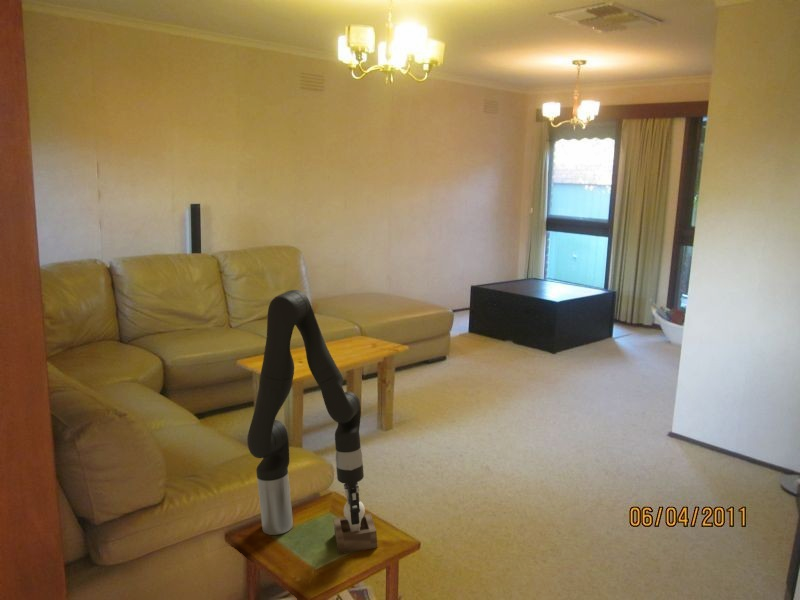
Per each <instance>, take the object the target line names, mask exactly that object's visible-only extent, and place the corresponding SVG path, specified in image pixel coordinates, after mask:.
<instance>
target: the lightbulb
mask: <svg viewBox="0 0 800 600" xmlns="http://www.w3.org/2000/svg"><path fill="white" fill-rule="evenodd" d="M356 507H357V506H352V508H356ZM359 508H360V512H359V524H355V525H352V523H351V513H350V506H349V504H348V503H347V502H346V503H345V504H344V506H343V515H344V516H343V517H346V519H347V520H348V522H349V525H350V529H351V532H354V531H360V527H361V520H362V518H363V516H364V514H366V513H365V512H366V508H365V504H363V502H362V501H361V500H360V502H359Z"/></svg>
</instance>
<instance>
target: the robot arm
mask: <svg viewBox="0 0 800 600" xmlns="http://www.w3.org/2000/svg"><path fill="white" fill-rule="evenodd" d="M314 312H315V311H314V310H313V306H312V305H311V302H310V300H309V298H308V297H307V295H306V294H305V293H304V292H302V291H301V290H298V289H293V290H292V289H291V290H288V291H286V292H284V293H280V294H278V295H276V296H275V297H274V298H272V299H271V301H270V303H269V305H268V308H267V321H266V322H267V323H266V324H267V325H266V338H265V339H266V340H265V346H264V352H263V360H262V365H261V370H260V377H259V385H258V391H257V397H256V401H255V406H254V411H253V415H252V419H251V422H250V425H249V430H248V433H247V439H246V441H247V447H248V451H249V453H250V454H251V455H252V456H253V457H254V458H257V459H261V461H260V462H259V463H258V465H257V466H256V472H255V473H256V480H257V481H256V482H257V489H258V490H257V491H258V498H259V499H258V500H259V509H260V519H261V527H262V531H263V533H264V534H266V535H270V536H277V535H282V534H285V533H288V532H289V531H290V530H291V529H292V528H293V527H294V521H293V510H292V500H291V499H292V498H291V490H290V480H289V477H290V476H289V469H288V468H289V465H290V442H289V435H288V430H287V428H286V426H285V425H284V424H283V423H282V421H280V420H277V419H276V417H277V416H278V414H279V411H280V410H281V408H282V407H283V405H284V403H285V402H286V400H287V398H288V397H289V394H290V393H291V389H292V386H293V381H294V377H295V363H294V359H293V355H292V352H291V342H292V341H291V339H292V336H293V331H294V328H295V327H296V328H297V329H298V332H299V333H300V336H301V337H302V342H303V346H304V348H305V349H304V350H305V356H306V361H307V366H308V368H309V371H310V373H311V375H312V376H313V379H314V380H315V382H316V384H317V386H318V388H319V389H320V391H321V395H322V399H323V402H324V403H323V404H324V406H325V408H326V411H327V413H328V415H329V417H330V418H331V419H332V420H333V421H334V422H336V423H337V427H336V429H335V432H334V443H335V467H336V468H335V469H336V478H337V482H339V483H341V484H343V489H344V495H345V498H346V503H348V504H349V506H350V513H351V523H352V525H355V524H359V512H360V508H359V502H360V501H361V500H360V494H359V493H360V488H359V487H360V486H359V484H358V482H360V481H363V479H364V477H365V475H364V461H363V453H362V448H361V437H360V427H361V417H362V416H361V415H362V408H361V407H362V406H361V405H362V404H361V401H360V399H359V397H358V395H357V394H356V393H354V392H352V391H345V390H344V387H343V383H344V378H343V375H342V372H341V371H340V370H339V369H340V368H338V366H337V364H336V362H335V361H334V358H333V357H332V355H331V353H330V350H329V348H328V346H327V344H326V341H325V339H324V336H323V334H322V332H321V329H320V326H319V324H318V321H317V318H316V316H315V313H314ZM352 506H357V507H356V508H352Z"/></svg>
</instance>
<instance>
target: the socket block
mask: <svg viewBox="0 0 800 600" xmlns="http://www.w3.org/2000/svg"><path fill="white" fill-rule="evenodd" d="M333 527H334V537H335V542H336V547H337V552H338V555H341V554H347V553H354V552H359V551H360V552H361V551H366V550H372V549H377V548H378V538H377V536H378V535H377V529H376V527H375V522H374V520H373V517H372V514H371V512H369V513H364V516H363V518H362V520H361V527H360V531H354V532H351V529H350V525H349V522H348V520H347V519H346V517H345V516H342V517H337V518H336V517H335V518H333Z"/></svg>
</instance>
